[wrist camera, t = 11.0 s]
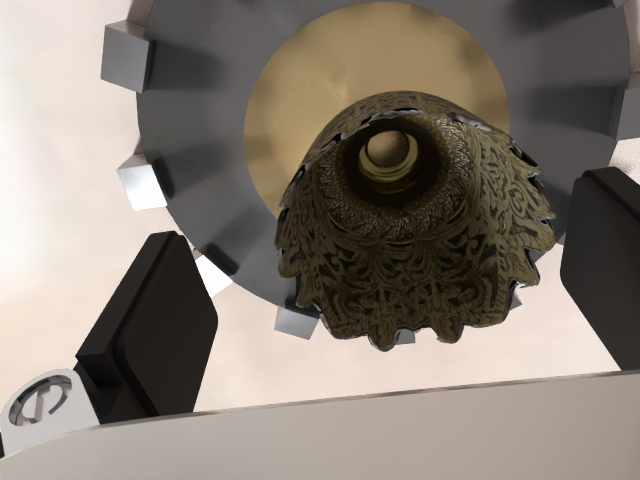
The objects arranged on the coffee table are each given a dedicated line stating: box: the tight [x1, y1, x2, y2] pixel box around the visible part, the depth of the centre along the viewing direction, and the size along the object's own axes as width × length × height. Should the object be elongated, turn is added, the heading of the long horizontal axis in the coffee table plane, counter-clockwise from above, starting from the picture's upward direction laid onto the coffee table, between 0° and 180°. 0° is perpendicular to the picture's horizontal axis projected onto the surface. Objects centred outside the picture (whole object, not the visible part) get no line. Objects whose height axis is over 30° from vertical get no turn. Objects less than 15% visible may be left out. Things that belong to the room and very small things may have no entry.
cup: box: [274, 90, 557, 352], centre depth 15 cm, size 8×7×8 cm
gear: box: [101, 0, 640, 345], centre depth 19 cm, size 22×22×2 cm
